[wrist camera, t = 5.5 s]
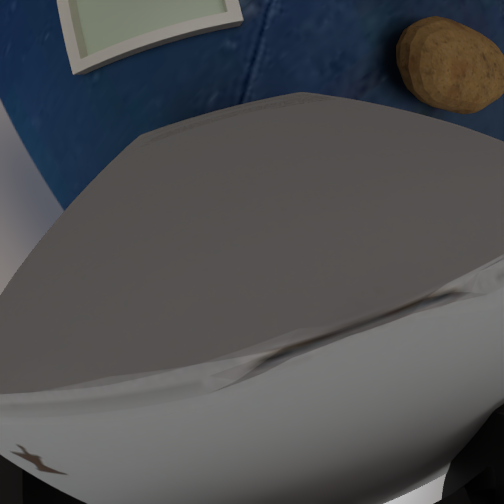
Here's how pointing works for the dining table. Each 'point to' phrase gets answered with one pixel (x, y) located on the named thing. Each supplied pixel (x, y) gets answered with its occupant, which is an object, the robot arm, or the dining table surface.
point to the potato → (450, 65)
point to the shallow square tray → (136, 26)
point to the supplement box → (263, 311)
